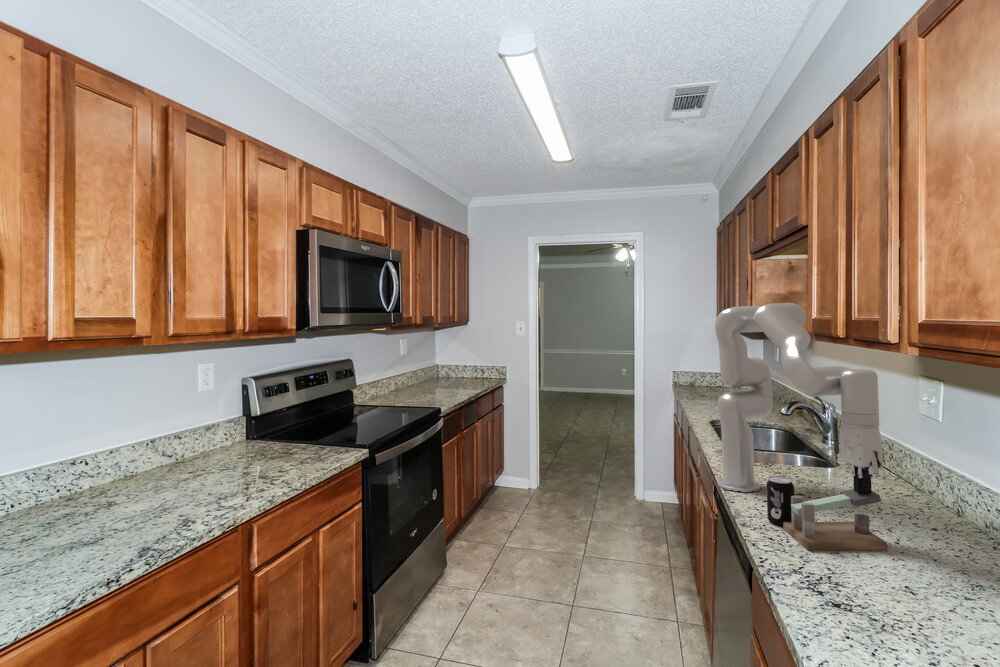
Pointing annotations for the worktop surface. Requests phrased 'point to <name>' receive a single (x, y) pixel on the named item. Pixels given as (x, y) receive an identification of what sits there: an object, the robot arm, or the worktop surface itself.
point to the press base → (831, 532)
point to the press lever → (839, 501)
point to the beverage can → (779, 499)
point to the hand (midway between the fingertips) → (862, 492)
